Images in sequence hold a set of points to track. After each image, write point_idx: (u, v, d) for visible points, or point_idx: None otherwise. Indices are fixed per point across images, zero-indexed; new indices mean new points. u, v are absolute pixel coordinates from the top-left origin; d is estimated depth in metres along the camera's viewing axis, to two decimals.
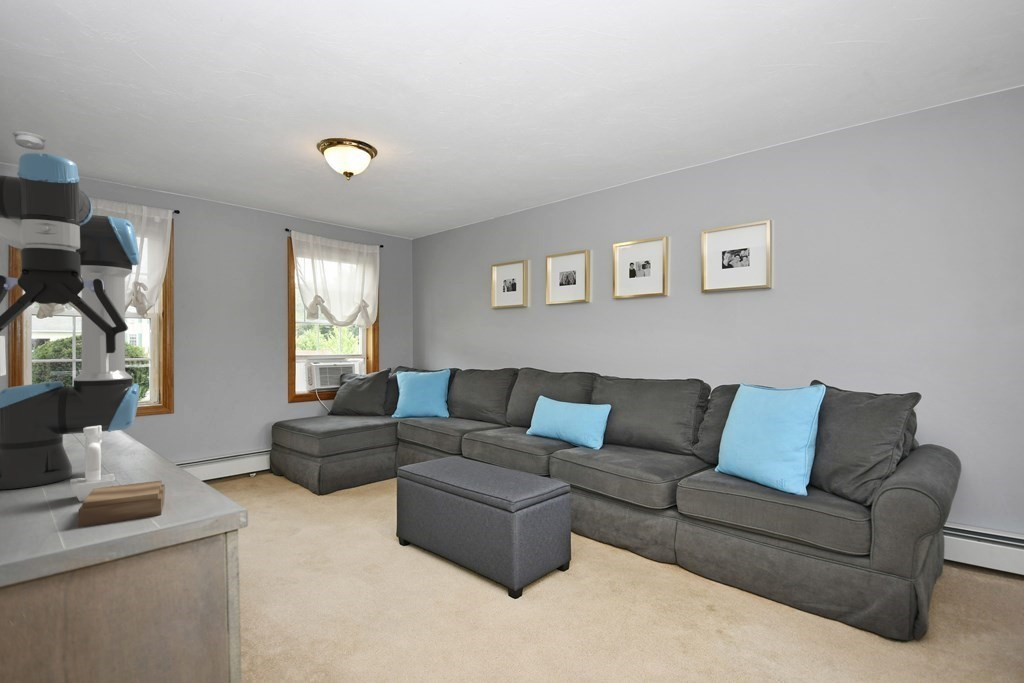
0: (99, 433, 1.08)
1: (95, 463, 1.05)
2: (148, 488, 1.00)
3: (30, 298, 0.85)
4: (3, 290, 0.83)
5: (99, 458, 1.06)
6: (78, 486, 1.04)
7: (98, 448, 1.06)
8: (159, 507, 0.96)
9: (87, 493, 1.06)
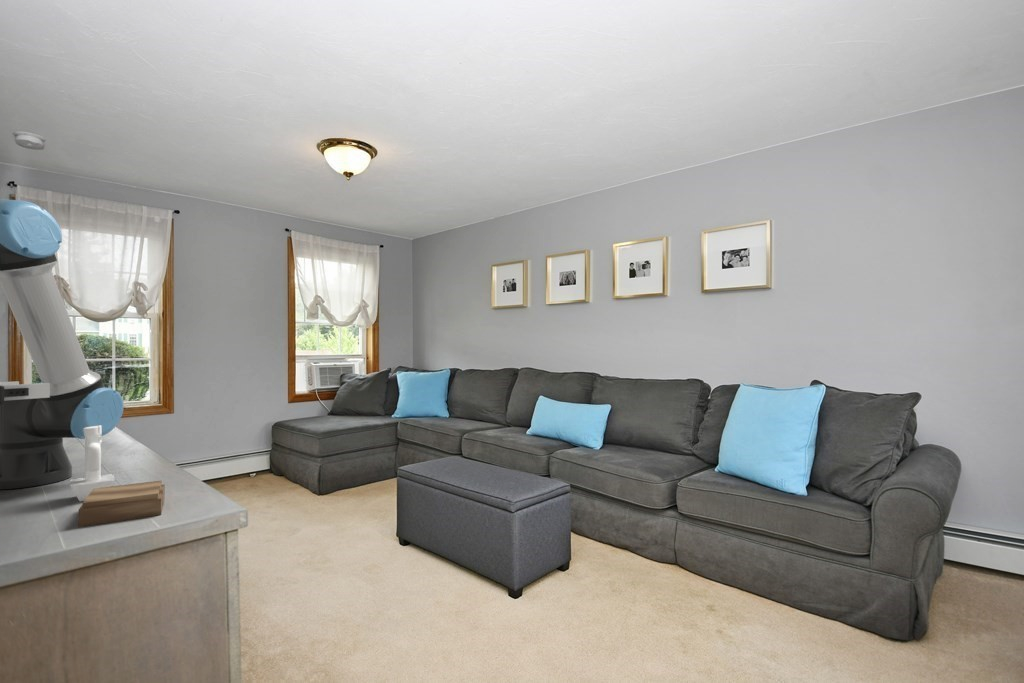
0: (99, 433, 1.08)
1: (95, 463, 1.05)
2: (148, 488, 1.00)
3: None
4: None
5: (99, 458, 1.06)
6: (78, 486, 1.04)
7: (98, 448, 1.06)
8: (159, 507, 0.96)
9: (87, 493, 1.06)
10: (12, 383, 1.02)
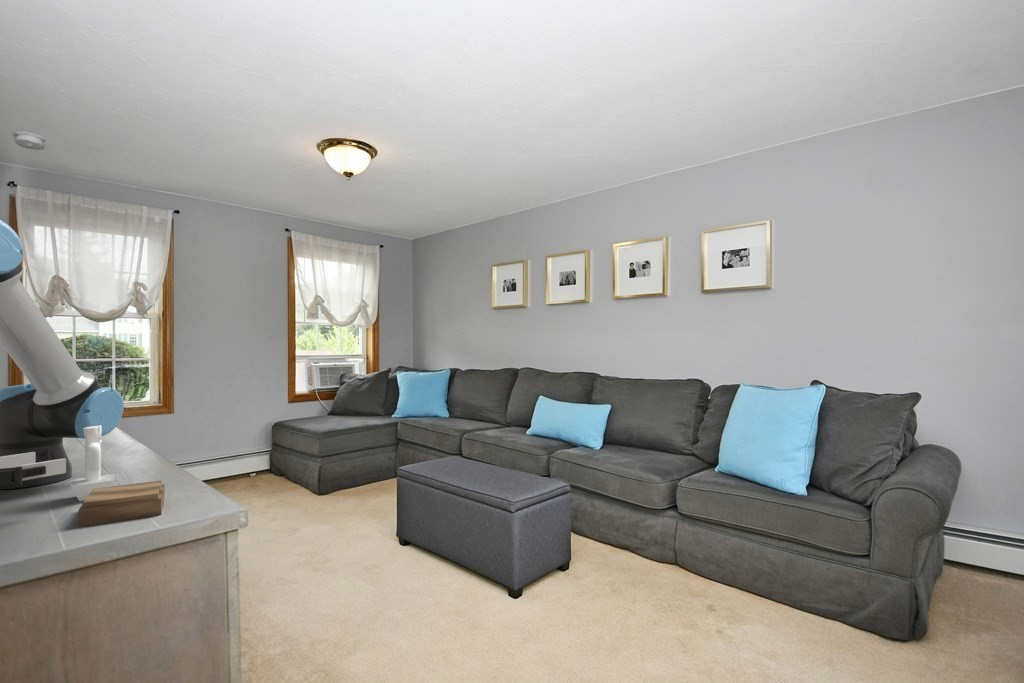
0: (99, 433, 1.08)
1: (95, 463, 1.05)
2: (148, 488, 1.00)
3: None
4: None
5: (99, 458, 1.06)
6: (78, 486, 1.04)
7: (98, 448, 1.06)
8: (159, 507, 0.96)
9: (87, 493, 1.06)
10: (29, 454, 1.04)
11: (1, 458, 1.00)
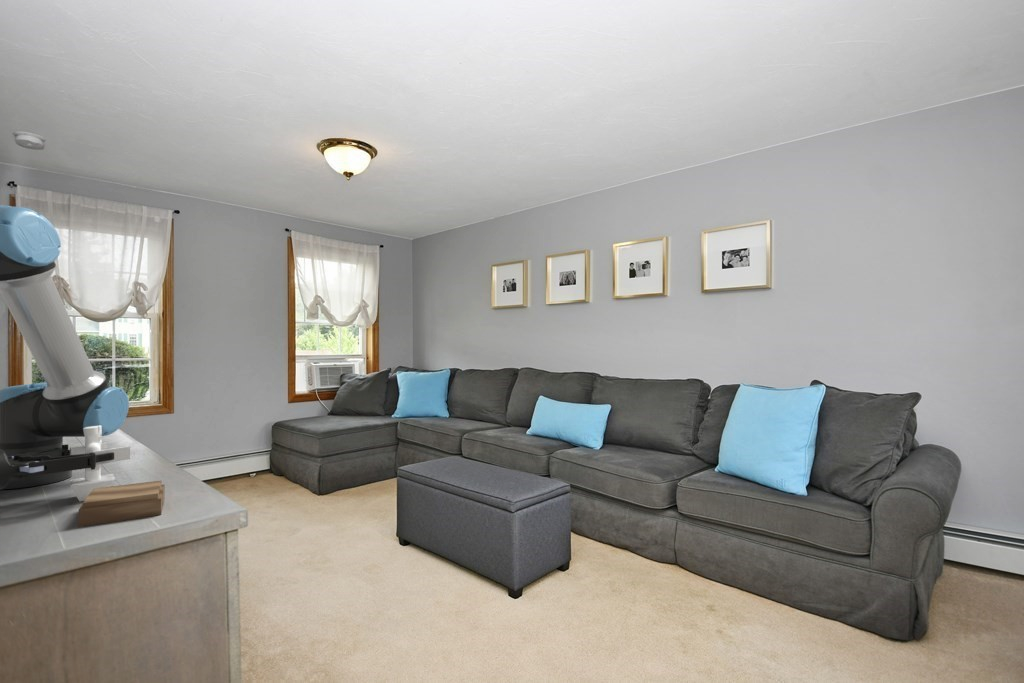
0: (99, 433, 1.08)
1: None
2: (148, 488, 1.00)
3: None
4: None
5: None
6: (78, 486, 1.04)
7: (98, 448, 1.06)
8: (159, 507, 0.96)
9: (87, 493, 1.06)
10: (101, 444, 1.14)
11: (79, 447, 1.10)
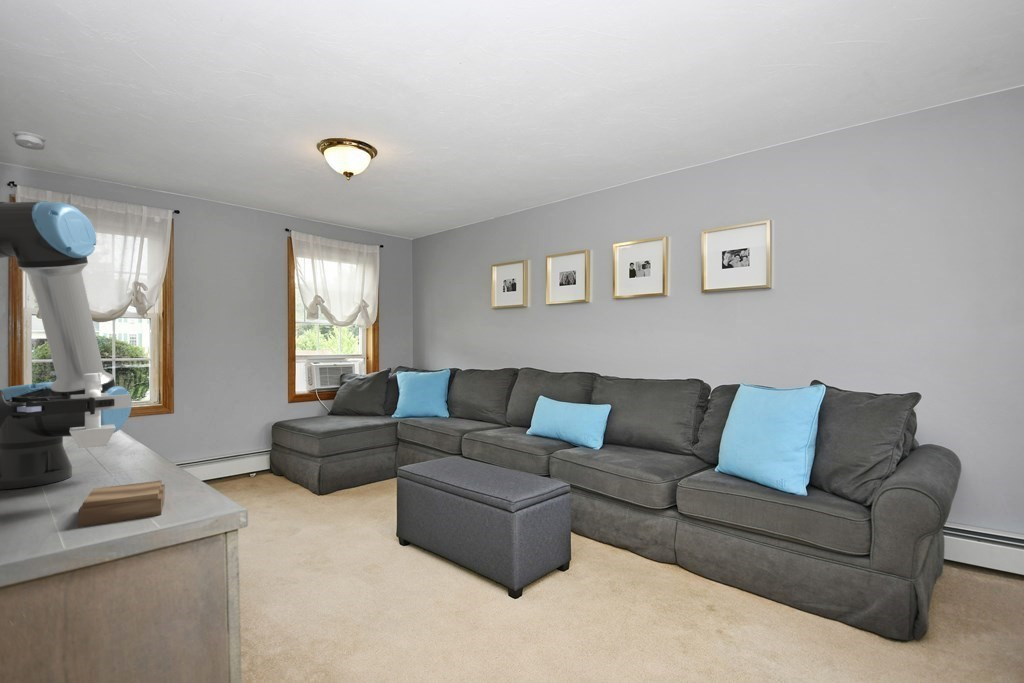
0: (99, 380, 1.06)
1: None
2: (148, 488, 1.00)
3: None
4: None
5: None
6: (77, 432, 1.01)
7: (98, 394, 1.03)
8: (159, 507, 0.96)
9: (86, 440, 1.03)
10: (102, 394, 1.11)
11: (79, 396, 1.07)
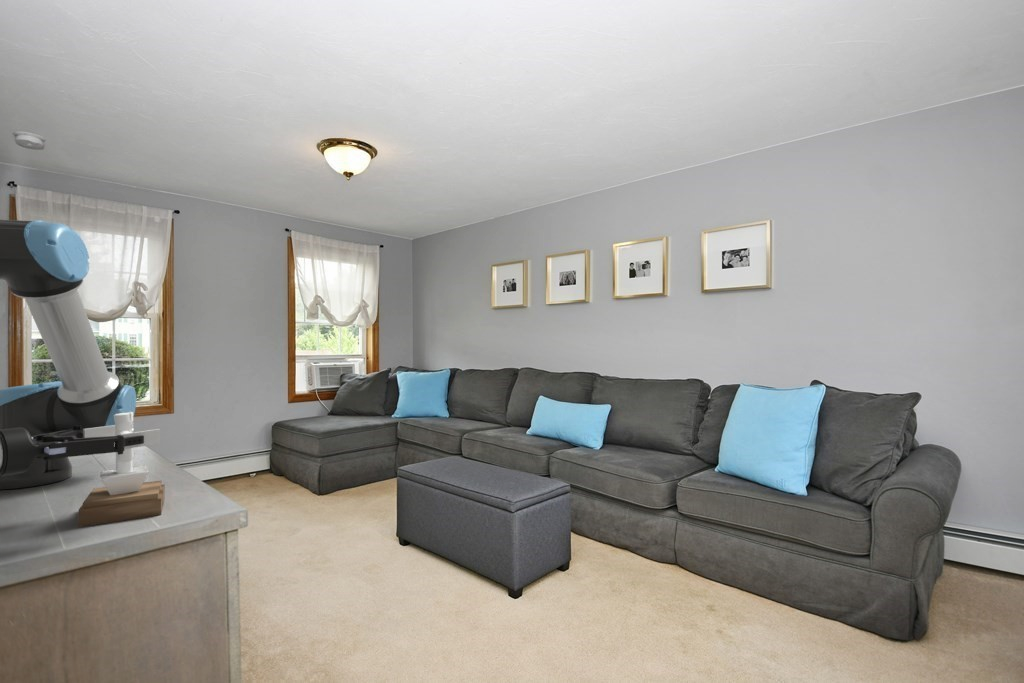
0: (131, 420, 0.98)
1: (127, 453, 0.95)
2: (148, 488, 1.00)
3: None
4: None
5: (131, 448, 0.96)
6: (109, 478, 0.94)
7: None
8: (159, 507, 0.96)
9: (118, 486, 0.96)
10: None
11: (93, 429, 0.99)
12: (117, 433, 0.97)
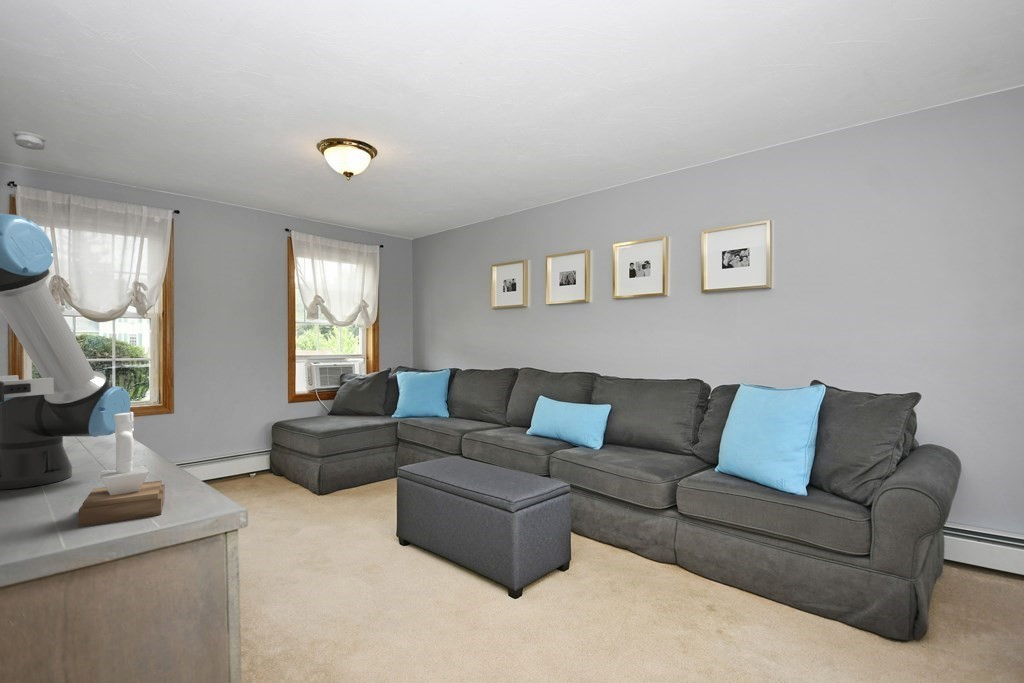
0: (131, 420, 0.98)
1: (127, 453, 0.95)
2: (148, 488, 1.00)
3: None
4: None
5: (132, 448, 0.96)
6: (109, 478, 0.94)
7: (131, 437, 0.96)
8: (159, 507, 0.96)
9: (118, 486, 0.96)
10: (11, 377, 0.93)
11: None
12: (117, 433, 0.97)
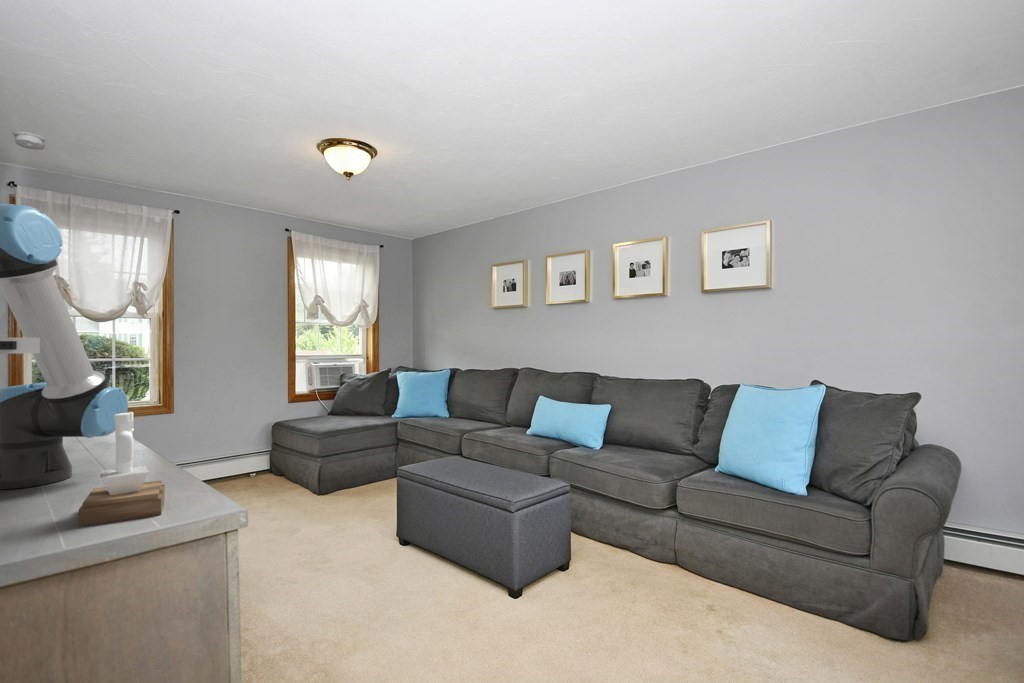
0: (131, 420, 0.98)
1: (127, 453, 0.95)
2: (148, 488, 1.00)
3: None
4: None
5: (132, 448, 0.96)
6: (109, 478, 0.94)
7: (130, 437, 0.96)
8: (159, 507, 0.96)
9: (118, 486, 0.96)
10: None
11: None
12: (117, 433, 0.97)
